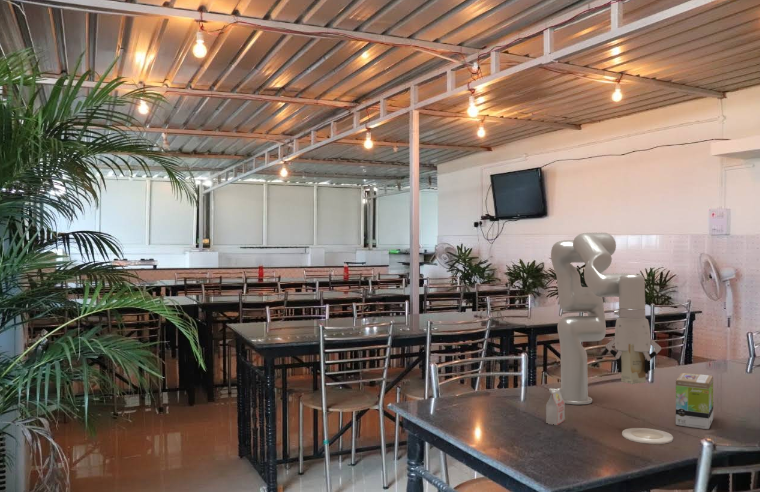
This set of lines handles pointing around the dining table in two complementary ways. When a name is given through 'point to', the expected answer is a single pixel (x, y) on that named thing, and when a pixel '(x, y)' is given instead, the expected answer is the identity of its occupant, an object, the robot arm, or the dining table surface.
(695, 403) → the tea box
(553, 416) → the white milk carton
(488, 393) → the dining table surface
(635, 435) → the saucer
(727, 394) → the dining table surface
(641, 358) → the skincare box
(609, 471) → the dining table surface
